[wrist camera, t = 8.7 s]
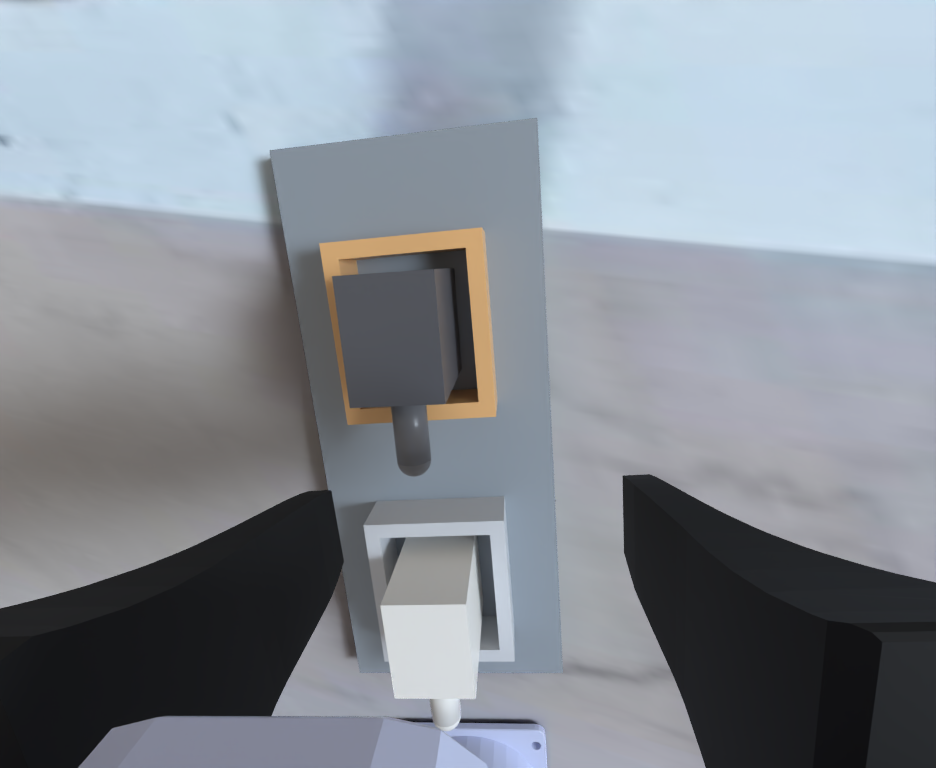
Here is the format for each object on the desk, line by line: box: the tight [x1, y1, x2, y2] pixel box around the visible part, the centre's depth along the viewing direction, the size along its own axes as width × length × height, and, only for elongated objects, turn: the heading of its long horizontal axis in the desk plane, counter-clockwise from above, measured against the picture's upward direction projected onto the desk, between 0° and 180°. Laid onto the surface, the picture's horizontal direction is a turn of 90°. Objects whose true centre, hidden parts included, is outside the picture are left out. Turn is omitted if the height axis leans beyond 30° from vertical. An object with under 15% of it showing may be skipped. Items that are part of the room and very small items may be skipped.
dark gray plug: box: [332, 268, 462, 477], centre depth 17 cm, size 7×3×5 cm, turn 4°
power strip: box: [270, 118, 563, 731], centre depth 18 cm, size 24×10×6 cm, turn 5°
